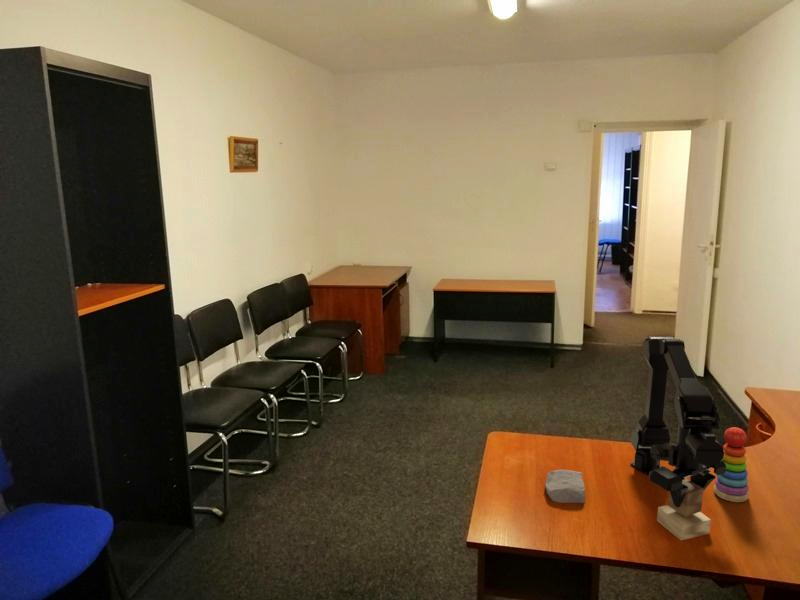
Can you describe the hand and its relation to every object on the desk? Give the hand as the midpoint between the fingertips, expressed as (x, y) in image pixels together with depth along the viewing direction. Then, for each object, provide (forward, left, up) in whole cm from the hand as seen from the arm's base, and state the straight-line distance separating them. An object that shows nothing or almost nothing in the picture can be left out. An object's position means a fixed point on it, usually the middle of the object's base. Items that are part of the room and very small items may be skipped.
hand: (684, 503), depth 138 cm
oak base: (0, 0, -6) cm, 7 cm away
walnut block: (0, 0, -1) cm, 1 cm away
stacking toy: (-22, -4, -6) cm, 23 cm away
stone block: (+15, -25, -7) cm, 30 cm away
